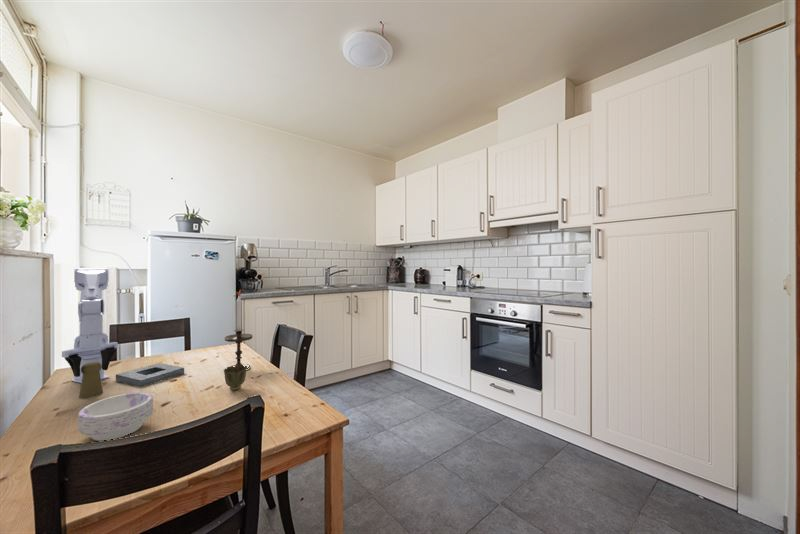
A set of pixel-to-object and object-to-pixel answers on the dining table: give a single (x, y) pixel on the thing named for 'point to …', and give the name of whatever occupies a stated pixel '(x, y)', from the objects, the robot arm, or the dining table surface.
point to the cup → (235, 376)
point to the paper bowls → (115, 416)
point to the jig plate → (149, 374)
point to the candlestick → (238, 333)
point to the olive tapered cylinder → (91, 380)
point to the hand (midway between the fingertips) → (91, 372)
